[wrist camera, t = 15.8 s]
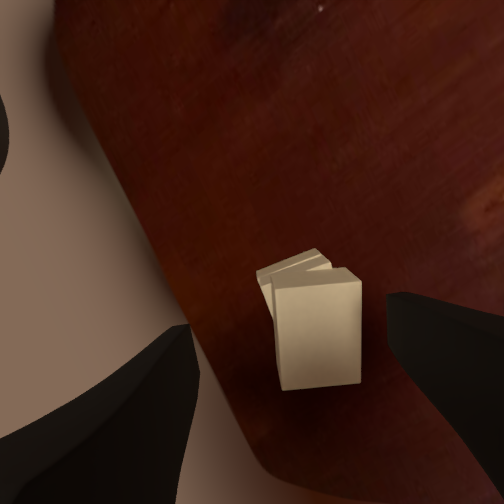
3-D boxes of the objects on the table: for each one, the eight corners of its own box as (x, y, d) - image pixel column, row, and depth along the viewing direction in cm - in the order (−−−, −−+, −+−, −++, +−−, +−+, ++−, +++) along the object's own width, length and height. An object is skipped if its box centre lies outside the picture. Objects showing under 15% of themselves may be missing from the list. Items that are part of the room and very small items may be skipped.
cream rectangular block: (345, 357, 18) (361, 383, 16) (276, 363, 18) (281, 391, 16) (345, 266, 16) (362, 281, 14) (269, 273, 16) (274, 289, 14)
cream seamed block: (342, 320, 21) (359, 345, 18) (284, 342, 21) (292, 370, 18) (315, 246, 19) (329, 259, 16) (254, 271, 20) (257, 287, 17)
